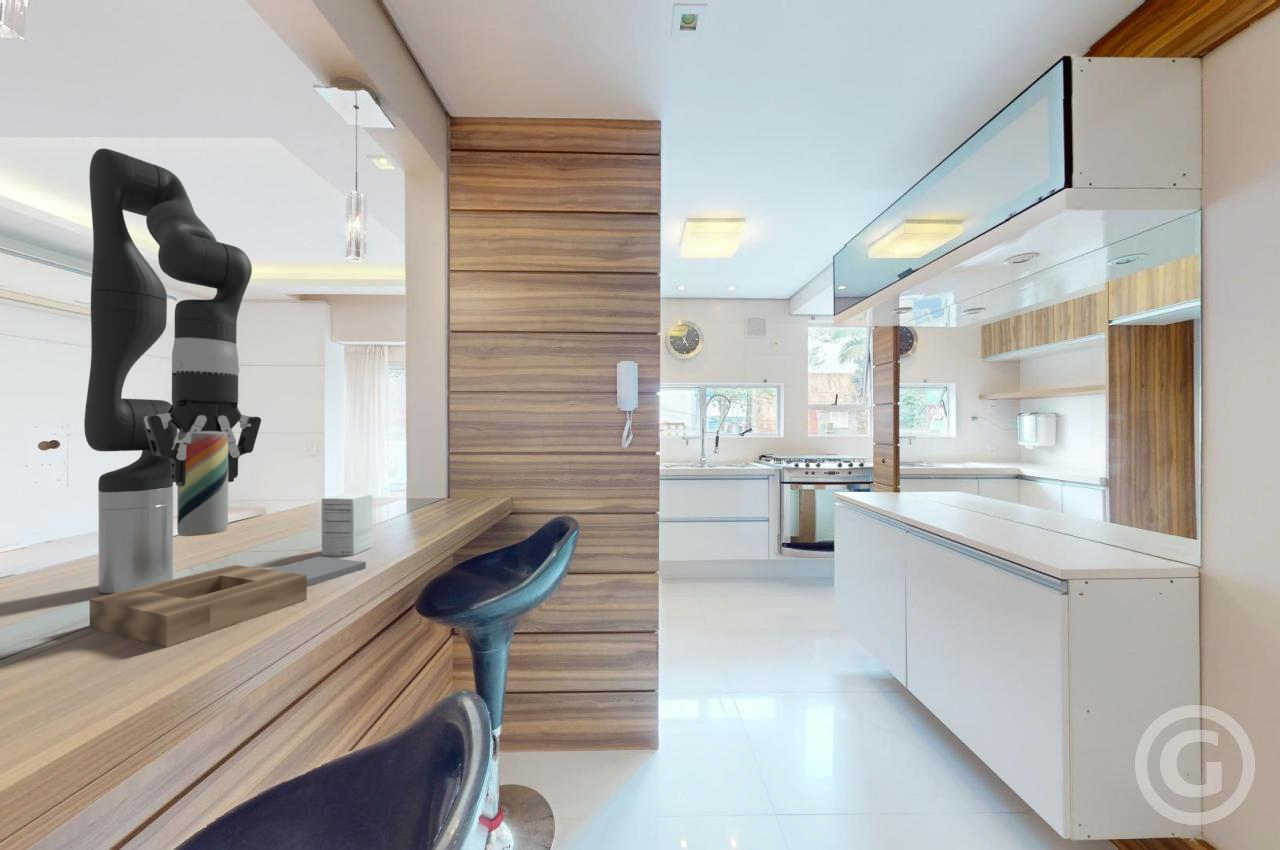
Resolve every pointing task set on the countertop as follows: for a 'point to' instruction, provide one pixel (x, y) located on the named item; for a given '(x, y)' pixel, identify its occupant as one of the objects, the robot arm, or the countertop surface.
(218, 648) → the countertop surface
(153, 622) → the block
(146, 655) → the countertop surface
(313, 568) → the rubber mat
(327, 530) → the supplement box
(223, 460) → the lotion bottle
